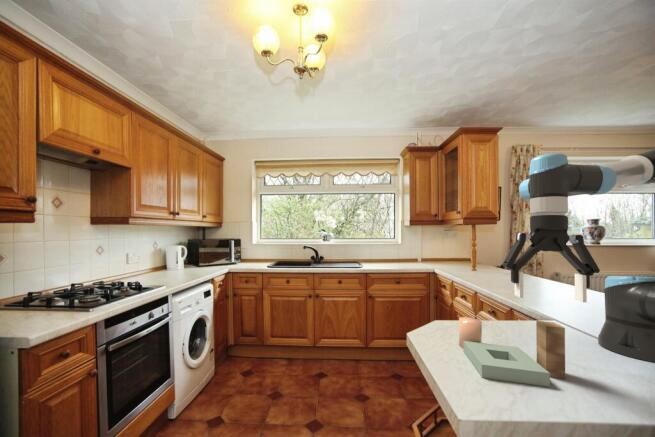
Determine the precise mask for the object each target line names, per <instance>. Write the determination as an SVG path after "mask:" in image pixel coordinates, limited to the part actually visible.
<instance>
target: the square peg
mask: <svg viewBox="0 0 655 437" xmlns="http://www.w3.org/2000/svg"><path fill="white" fill-rule="evenodd" d="M535 324H536V325H535V326H536V334H535V335H536V338H535V339H536V341H535V342H536V362H537V363H538V364H539V365H541V366H542V367H543V368H544V369H545V370H547V371H548V372H549V373H550V378H555V379H556V378H557V379H564V380H565V379H566V328H565V327H564V326H562V325H561V324H558V323H556V322H553V321H552V322H551V321H542V320H536V323H535Z"/></svg>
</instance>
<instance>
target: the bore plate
mask: <svg viewBox="0 0 655 437" xmlns="http://www.w3.org/2000/svg"><path fill="white" fill-rule="evenodd" d="M463 353H464V355H465V356H466V358H468V361H469V362H470V363H471V364H472V366H473V367H474V369H475V370H476V372H477V373H478V374H479V375H480V377H481V378H483V379H490V380H496V381H503V382H504V381H505V382H512V383H518V384H527V385H535V386H542V387H549V388H550V387H551V382H550V381H551V377H550V373H549V372H548V371H547V370H545V369H544V368H543V367H542V366H541V365H539V364H538V363H537V360H535V359H534V358H532V357H531V356H529V355H528V354H527V353H526V352H525V351H524V350H522V349H521V348H520V347H518V346H513V345H512V346H511V345H504V344H496V343H495V344H494V343H493V344H492V343H483V342H482V343H477V342H468V341H464V349H463Z"/></svg>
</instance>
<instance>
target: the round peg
mask: <svg viewBox="0 0 655 437" xmlns="http://www.w3.org/2000/svg"><path fill="white" fill-rule="evenodd" d="M482 322H483V321H482V320H479V319H478V318H474V317H468V316H461V317H459V319H458V325H459V326H458V346H459V347H460V348H461V349H462V350H464V341H468V342H477V343H483V342H482V341H483V338H482V336H483V332H482V330H483V327H482V326H483V323H482Z"/></svg>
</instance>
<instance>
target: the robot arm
mask: <svg viewBox="0 0 655 437" xmlns="http://www.w3.org/2000/svg"><path fill="white" fill-rule="evenodd" d="M528 175H529V178H528V179H527V178H526V179H524V180H523V181H522V182H521V183H520V184H519V187H518V191H519V195H520V197H521V198H522V199H523V200H524V201H527V202H529V214H531V216H530V217H529V230H530V233H526V232H517V233H516V236H515V241H514V243H513V245H512V247H511V248H510V250H509V252H508V253H507V255H506V257H505V258H504V260H503V262H502V267H504V268H507V269H509V270H510V281H511V283H513V284H514V296H515V297H518V298H524V271H522V270H521V269H522V268H523V267H524V266H525V265H526V264H528V262H529V261H530V260H531V259H532V258H533V257H534V256H535V255H536V254H537V253H539V252H555V253H557V252H558V253H559V254H561V256H562V257H563V258H564V259H566V261H567V262H568V263H569V264H570V265H571V266H572V267H573V268H574V269H575V271H577V273H574V300H575V301H578V302H581V303H587V301H588V300H587V298H588V297H587V295H588V294H587V289H589V288H590V287H591V281H590V279H591V278H590V277H592V276H594V274H599V273H600V271H601V269H600V268H599V267H598V264H597V263H596V261H595V259H594V258H593V256H592V254H591V252H590V251H589V249H588V248H587V246H586V244H585V240H584V235H583V234H570V235H569V234H568V230H569V217H568V215H566V214H568V213H569V199H568V198H569V197H572V196H580V195H581V196H582V195H589V196H594V195H604V194H607V193H609V192H610V191H611V190H612V189H613V188H615V187H618V186H623V185H626V186H640V185H647V184H655V148H653V149H651V150H648V151H644V152H641V153H636V154H632V155H628V156H626V157H623V158H622V159H620V160H617V161H612V162H607V163H602V164H601V163H600V164H593V165H592V164H572V163H569V160H568V156H567V154H564V153H561V152H560V153H559V152H554V153H553V152H552V153H545V154H541V155H536V156H535V157H533V158H532V159H531V160H530V163H529V173H528ZM528 241H530V242H531V243H530V244H529V246H527V248H526V249H525V251H524V252H523V253H521V251H522V250H523V248H524V246H525V245H526V243H527V242H528ZM567 243H570V244H571V246H572V247H573V249H574V250H575V252H576V254H577V255H576V254H575V253H574V252H573V251H572V249H571V247H569V246H568V245H567ZM520 253H521V255H520ZM519 255H520V256H519ZM603 289H604V312H605V316H604V317H605V322H604V323H603V325H602V327H601V330H600V332H599V334H598V336H597V343H598V345H600V346H601V347H602V348H604V349H606V350H608V351H611V352H614V353H616V354H620V355H623V356H625V357H630V358H634V359H637V360H643V361H647V362H651V363H652V362H653V363H655V276H630V275H627V276H625V275H608V276H607V277H606V278H605V280H604V287H603Z"/></svg>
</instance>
